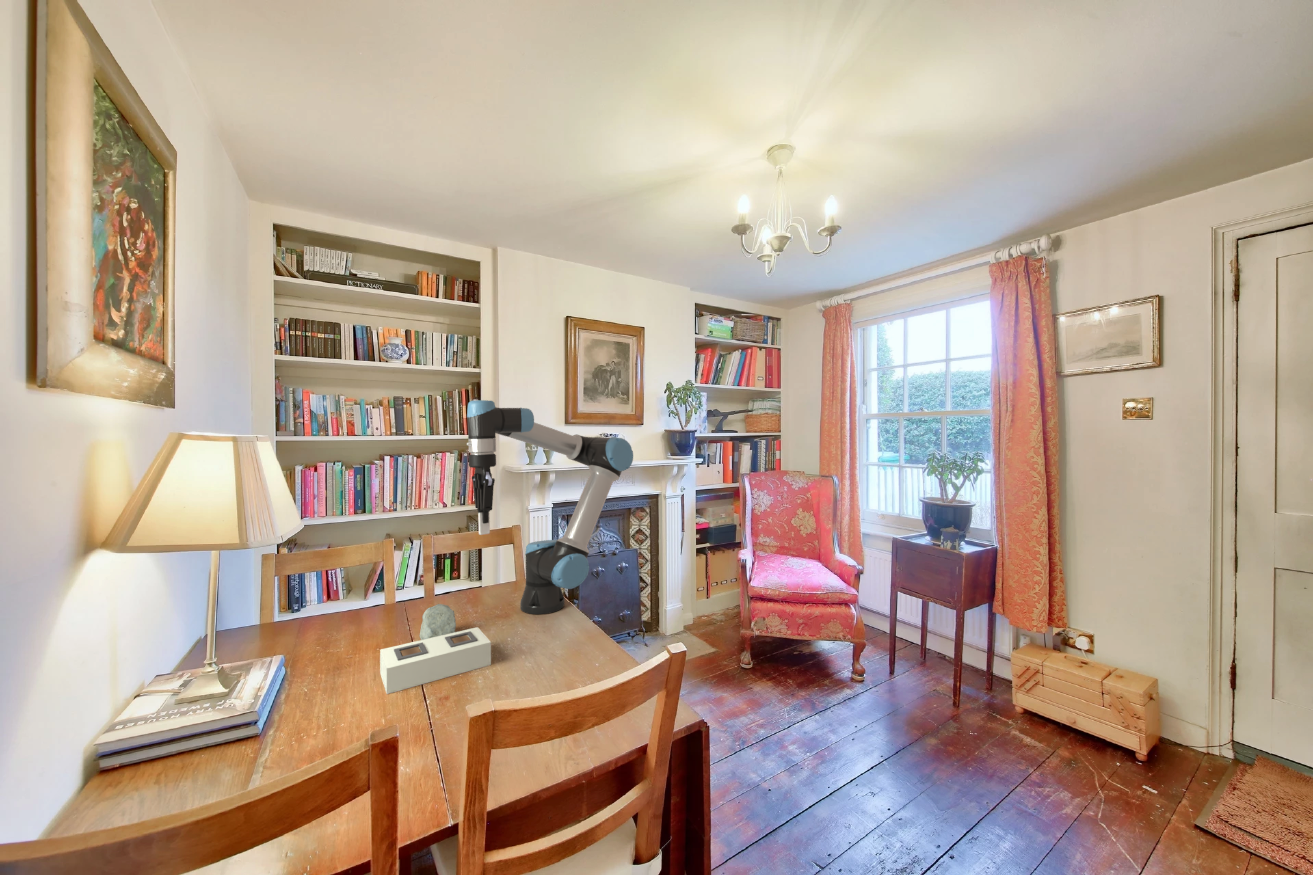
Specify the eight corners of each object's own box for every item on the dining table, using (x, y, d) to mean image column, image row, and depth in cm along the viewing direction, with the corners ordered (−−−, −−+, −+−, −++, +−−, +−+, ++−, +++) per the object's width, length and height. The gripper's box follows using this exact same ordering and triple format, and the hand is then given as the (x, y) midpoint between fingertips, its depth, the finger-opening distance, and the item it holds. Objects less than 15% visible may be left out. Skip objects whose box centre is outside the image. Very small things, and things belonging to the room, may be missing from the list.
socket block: (477, 648, 134) (477, 625, 134) (490, 664, 124) (490, 640, 124) (380, 673, 120) (380, 647, 120) (386, 694, 110) (386, 666, 110)
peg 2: (466, 657, 128) (466, 635, 128) (470, 662, 125) (470, 640, 125) (451, 661, 126) (451, 638, 126) (454, 667, 123) (455, 644, 123)
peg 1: (418, 669, 121) (418, 646, 121) (421, 676, 118) (421, 652, 118) (400, 674, 119) (400, 650, 119) (403, 681, 116) (403, 656, 116)
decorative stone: (423, 631, 145) (410, 613, 139) (458, 614, 149) (447, 595, 143) (429, 667, 136) (416, 649, 130) (467, 647, 139) (456, 629, 133)
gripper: (462, 453, 141) (464, 532, 141) (476, 454, 130) (478, 539, 131) (487, 452, 145) (489, 528, 146) (503, 453, 135) (505, 535, 136)
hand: (484, 533), depth 138 cm, fingers closed
